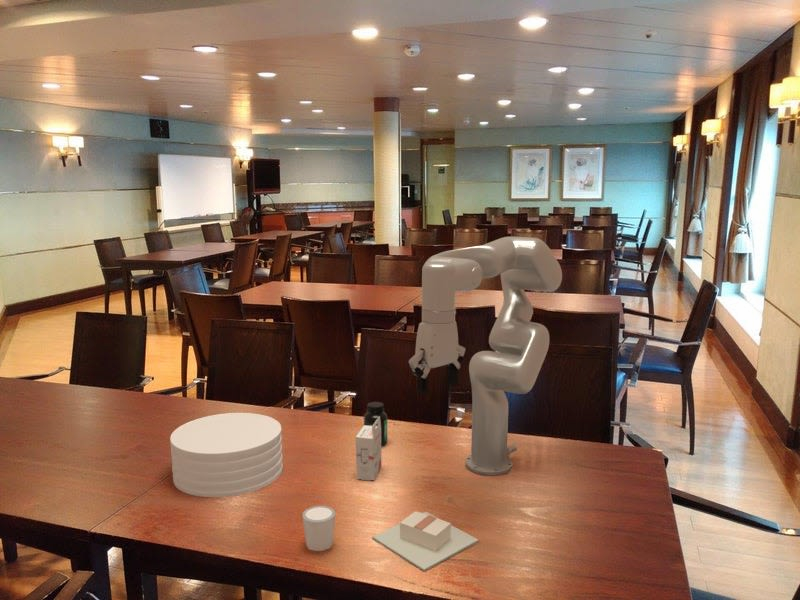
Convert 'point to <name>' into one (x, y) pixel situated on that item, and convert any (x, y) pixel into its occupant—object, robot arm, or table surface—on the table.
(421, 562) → the mat
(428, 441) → the table surface
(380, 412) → the supplement bottle
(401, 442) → the table surface
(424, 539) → the card box
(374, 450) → the ink cartridge box
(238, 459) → the plate stack
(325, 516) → the shot glass
